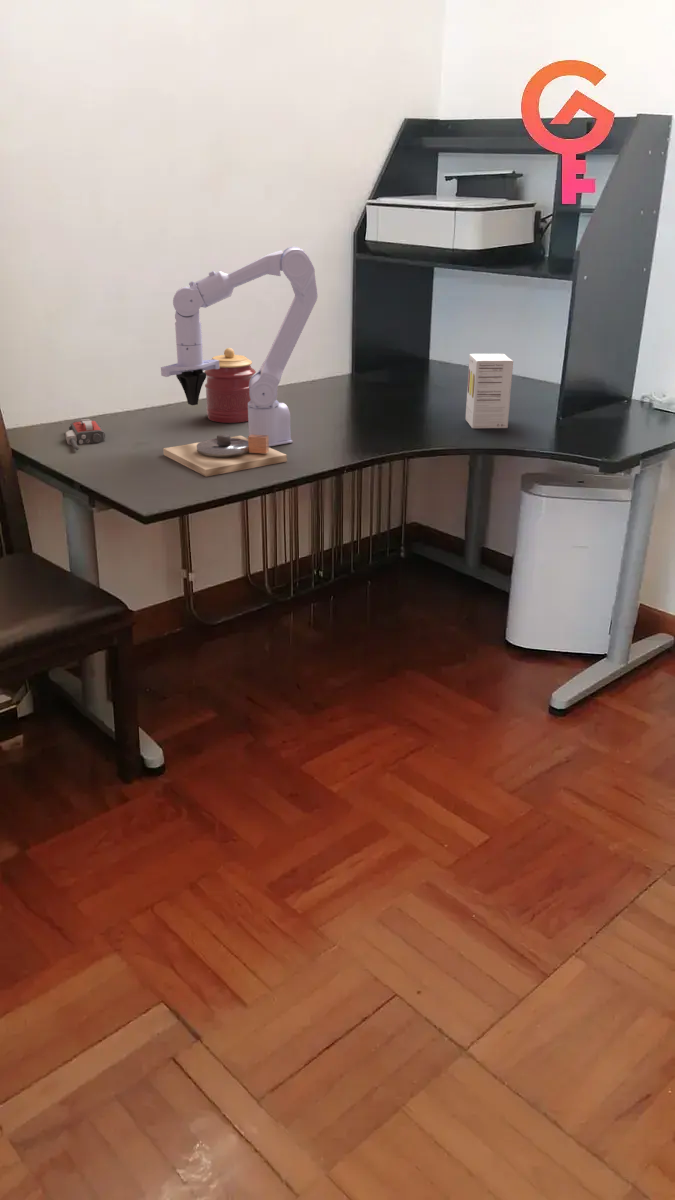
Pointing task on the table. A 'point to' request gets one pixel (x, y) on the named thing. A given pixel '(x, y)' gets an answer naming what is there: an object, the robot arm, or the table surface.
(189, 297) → the robot arm
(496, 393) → the supplement box
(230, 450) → the flange
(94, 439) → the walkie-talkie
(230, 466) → the base plate
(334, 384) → the table surface
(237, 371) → the canister
